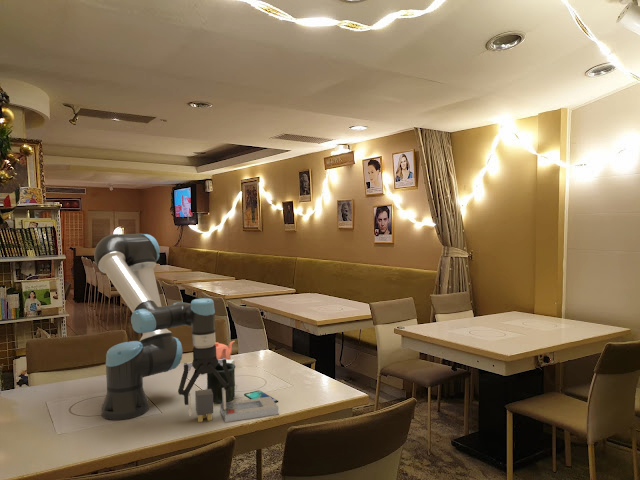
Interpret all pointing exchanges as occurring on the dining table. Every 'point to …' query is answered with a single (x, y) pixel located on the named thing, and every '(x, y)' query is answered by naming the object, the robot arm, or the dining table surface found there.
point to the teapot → (223, 350)
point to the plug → (204, 404)
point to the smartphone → (258, 395)
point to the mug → (217, 386)
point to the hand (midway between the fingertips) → (207, 411)
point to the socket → (249, 409)
